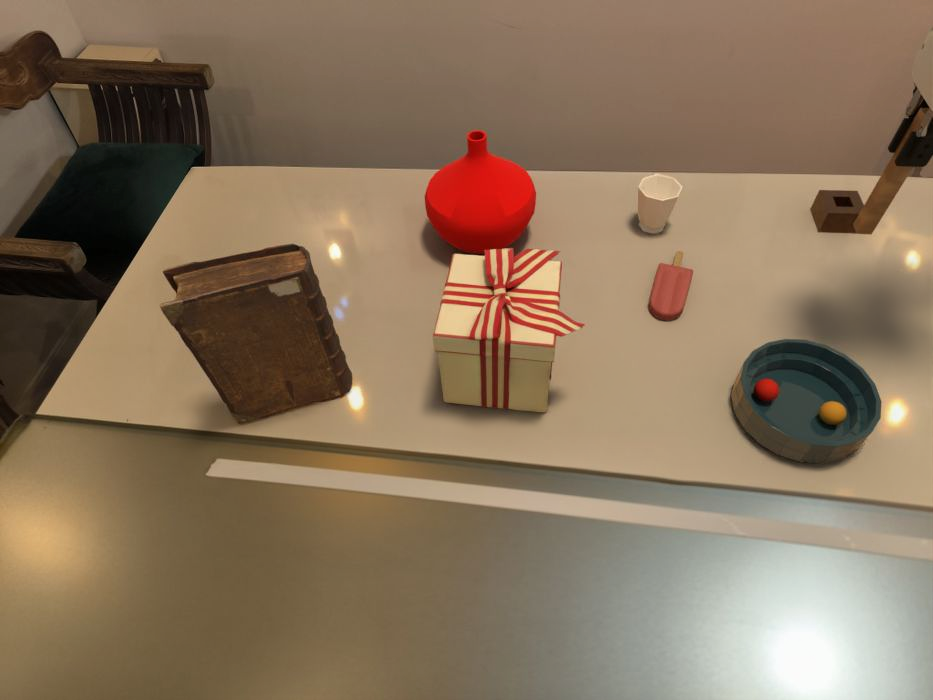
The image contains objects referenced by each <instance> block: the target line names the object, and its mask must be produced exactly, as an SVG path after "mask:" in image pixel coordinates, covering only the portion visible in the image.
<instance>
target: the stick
mask: <svg viewBox="0 0 933 700" xmlns="http://www.w3.org/2000/svg"><path fill="white" fill-rule="evenodd" d="M928 110H929V108H920V110H919V111H918V113H917V115H916V117H915V118H914V120H913V122H912V124H911V125H910V127H909V129H908V131H907V132H906V134H905V136H904V138H903V139H902V141H901V143H900V144H899V146H898V148H897V150H896V151H895V153H893V154H892V156H891V158H890V159H889V162H888V163H887V165H886V166H885V168H884V170H883V172H882V174H881V175H880V177H879V179H878V181H877V182H876V184H875V185H874V188H873V189H872V191H871V192H870V194H869V196H868V197H867V199H866V201H865V203H864V206H863V208H862V210H861V211H860V213H859V215H858V217H857V218H856V220H855V222H854V224H853V226H854V229H855V231H856V233H855V234H857V235H872V234H873V233H874V231H875V230H876V228H877V226H878V225H879V223H880V222H881V220H882V219H883V217H884V215H885V214H886V212H887V210H888V209H889V207H890V206H891V204H892V202H893V201H894V199H895V198H896V196H897V194H898V193H899V191H900V189H901V188H902V186H903V185H904V183H905V181H906V180H907V178H908V176H909V175H910V174H911V172H912V170H913V168H914V167H906V166H896V164H895V162H894V161H895V159H896V157H897V156H898V154H899V152H900V150H901V149H902V147H903V145H904V143H905V142H906V140H907V138H908V136H909V135H910V133H911V131H917V128H918V127H919V125H920V123H921V122H922V120H923V118H924V116H925V115H926V113H927V111H928Z"/></svg>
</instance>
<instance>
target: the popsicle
mask: <svg viewBox="0 0 933 700" xmlns="http://www.w3.org/2000/svg"><path fill="white" fill-rule="evenodd" d="M683 256H684V252H683V251H681V250H676V252H675V256H674V258H673V259H674V260H673V262H672V263H673V264H670V263H669V264H668V263H663V262H660V263H659V264H658V266H657V270H656V274H655V277H654V281H653V283H652V284H653V285H652V290H651V293H650V298H649V302H648V308H649V311H650V313H651V314H652V316H654V317H655V318H657V319H658V320H661V321H673V320H675V319H678V318H679V317H680V316H681V315H682V313H683V311H684V308H685V306H686V302H687V298H688V294H689V291H690V287H691V283H692V280H693V275H694V269H692V268H688V267H682V266H681V264H682V261H683Z"/></svg>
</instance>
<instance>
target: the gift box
mask: <svg viewBox="0 0 933 700" xmlns="http://www.w3.org/2000/svg"><path fill="white" fill-rule="evenodd" d="M484 252H485V253H484V255H480V254H478V255H477V254H464V253H463V254H462V253H452V255H451V260H450V264H449V268H448V273H447V277H446V279H445V280H446V281H445V283H444V289H443V293H442V297H441V300H440V304H439V306H440V307H439V309H438V314H437V318H436V321H435V326H434V329H433V333H432V343H433V351H434V352H437V356H438V363H439V364H438V365H439V373H440V381H441V389H442V396H443V401H444V402H445V403H448V404H457V405H467V406H476V407H477V406H478V407H483V408H493V409H503V410H516V411H524V412H525V411H526V412H535V413H536V412H537V413H547V410H548V401H549V390H550V389H549V388H550V381H551V380H552V372H553V371H552V369H553V363H554V362H555V356H556V348H557V336H558V337H560V338H561V337H564V336H568V335H570V334H572V333H574V332H576V331H579V330H581V329H583V327H584V326H586V324H585V323H582V322H578V321H576V320H575V319H573V318H571V317H570V316H569V315H566V314H565V313H564V312H562V311H560V305H561V293H560V292H561V280H562V268H563V261H558V260H557V261H556V260H552V259H553V258H555V257H556V256H557V255H559V253H561V250H546V249H537V248H525V249H523V251H521V252H519V253H518V254H516V255H515V256H514V248H513V247H505V248H503V249H492V250H484Z"/></svg>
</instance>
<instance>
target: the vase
mask: <svg viewBox="0 0 933 700" xmlns="http://www.w3.org/2000/svg"><path fill="white" fill-rule="evenodd" d="M487 137H488V136H487V133H486V132H485V131H483V130H481V129H478V130H477V129H476V130H471V131H469V132H468V133H467V134H466V141H467V153H466V154H465V155H463V156H462V157H460V158H458V159H456V160H454V161H451V162H450V163H448V164H446V165H444V166H443V167H441V168H440V169H439V170H437V171H436V172H435V173H434V174H433V175H432V177H430V179H429V181H428V184H427V187H426V189H425V193H424V206H425V212H426V217H427V218H428V221H429V223H430V224H431V226H432V227H433V228H434V230H435V231H436V233H437V234H438V236H439V237H440V238H442V239H443V240H444V241H445V242H446V243H447V244H449V245H451V246H452V247H454V248H456V249H458V250H460V251H462V252H466V253H469V254H478V255H480V254H485V252H484V250H492V249H506V248H508V246H510V245H511V244H513V243H514V242H515V241H516V240H517V239H519V238H520V237H521V236H522V235H523V233H524V232H525V231H526V229H527V227H528V225H529V224H530V221H531V220H532V218H533V216H534V214H535V211H536V210H535V209H536V203H537V190H536V187H535V184H534V181H533V179H532V177H531V175H530V174H529V173H528V171H527V170H526V169H525V168H523V167H522V166H520V165H519V164H518V163H516V162H513V161H511V160H508V159H506V158H502V157H499V156H497V155H494V154H492V153H490V152H489V150H488V139H487Z"/></svg>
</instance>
